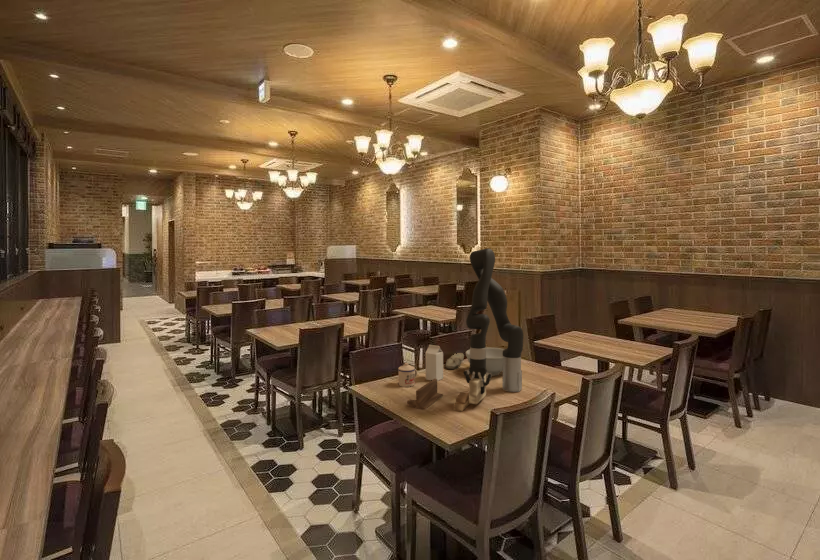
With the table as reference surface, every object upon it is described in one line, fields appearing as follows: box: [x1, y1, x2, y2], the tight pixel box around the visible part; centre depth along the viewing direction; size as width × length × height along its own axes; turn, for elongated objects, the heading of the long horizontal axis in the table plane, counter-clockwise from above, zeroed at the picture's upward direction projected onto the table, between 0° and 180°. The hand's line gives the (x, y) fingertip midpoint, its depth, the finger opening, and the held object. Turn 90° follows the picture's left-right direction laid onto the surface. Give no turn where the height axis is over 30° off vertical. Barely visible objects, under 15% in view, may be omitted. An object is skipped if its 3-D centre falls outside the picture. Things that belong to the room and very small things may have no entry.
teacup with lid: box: [397, 362, 418, 388], centre depth 234 cm, size 12×9×12 cm
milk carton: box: [424, 344, 444, 382], centre depth 243 cm, size 7×7×19 cm
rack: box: [406, 379, 444, 411], centre depth 208 cm, size 9×21×8 cm, turn 153°
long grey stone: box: [445, 352, 465, 370], centre depth 278 cm, size 35×5×10 cm
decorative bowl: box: [465, 346, 505, 377], centre depth 253 cm, size 27×27×12 cm
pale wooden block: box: [468, 374, 487, 405], centre depth 204 cm, size 4×14×10 cm, turn 153°
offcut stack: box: [453, 391, 471, 412], centre depth 200 cm, size 5×11×5 cm, turn 153°
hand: (477, 393), depth 204 cm, fingers closed on pale wooden block, 3 cm apart
